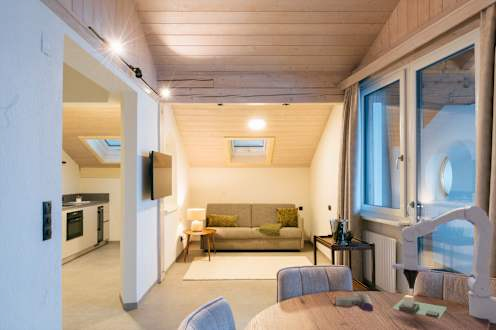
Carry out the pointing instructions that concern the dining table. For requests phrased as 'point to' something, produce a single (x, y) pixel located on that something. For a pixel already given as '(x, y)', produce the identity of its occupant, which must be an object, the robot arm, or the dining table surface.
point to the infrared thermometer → (355, 301)
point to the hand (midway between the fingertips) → (411, 288)
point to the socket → (416, 307)
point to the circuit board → (425, 309)
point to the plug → (408, 301)
